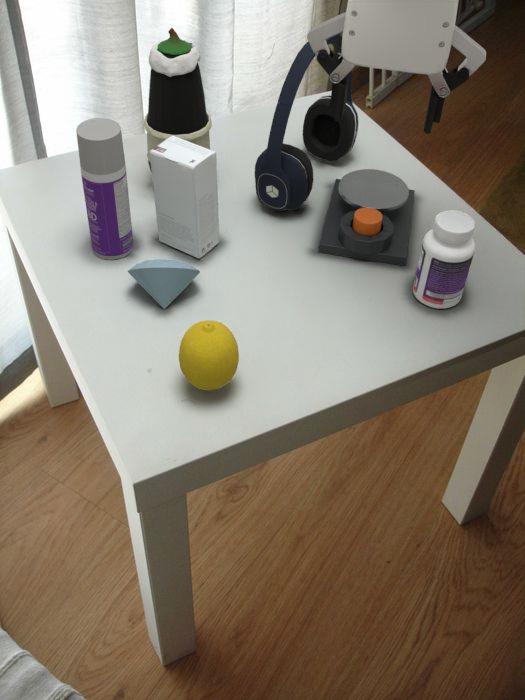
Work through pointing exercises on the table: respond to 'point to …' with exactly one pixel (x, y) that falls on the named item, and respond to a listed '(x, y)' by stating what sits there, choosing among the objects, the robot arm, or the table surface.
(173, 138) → the cosmetic box
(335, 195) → the scale
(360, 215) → the tare button
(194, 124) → the toy
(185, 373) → the lemon
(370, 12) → the robot arm
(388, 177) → the scale pan
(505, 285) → the table surface
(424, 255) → the pill bottle
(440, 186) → the table surface
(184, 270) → the gemstone
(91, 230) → the container
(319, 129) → the earphone
